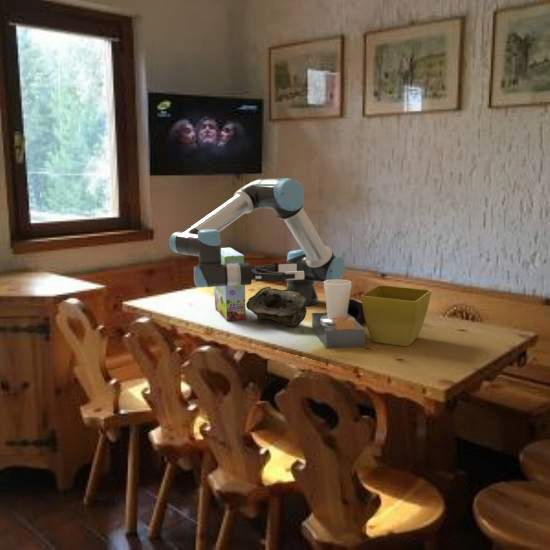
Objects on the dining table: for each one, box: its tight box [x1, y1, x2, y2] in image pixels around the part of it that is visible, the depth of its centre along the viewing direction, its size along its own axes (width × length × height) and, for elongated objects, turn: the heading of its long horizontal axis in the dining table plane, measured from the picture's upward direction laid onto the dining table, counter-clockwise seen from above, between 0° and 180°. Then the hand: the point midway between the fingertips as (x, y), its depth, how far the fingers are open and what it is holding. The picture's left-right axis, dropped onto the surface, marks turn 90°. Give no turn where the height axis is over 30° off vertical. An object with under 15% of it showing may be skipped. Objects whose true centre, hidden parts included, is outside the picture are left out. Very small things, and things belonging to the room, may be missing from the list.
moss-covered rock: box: [245, 286, 307, 329], centre depth 234 cm, size 28×13×15 cm
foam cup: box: [323, 278, 352, 320], centre depth 212 cm, size 10×9×13 cm
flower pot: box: [360, 284, 432, 347], centre depth 210 cm, size 19×19×17 cm
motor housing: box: [311, 312, 366, 349], centre depth 214 cm, size 24×13×9 cm, turn 8°
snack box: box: [213, 247, 247, 322], centre depth 246 cm, size 22×9×26 cm, turn 18°
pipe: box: [347, 298, 365, 324], centre depth 238 cm, size 10×15×15 cm
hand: (300, 271), depth 214 cm, fingers open, 13 cm apart
